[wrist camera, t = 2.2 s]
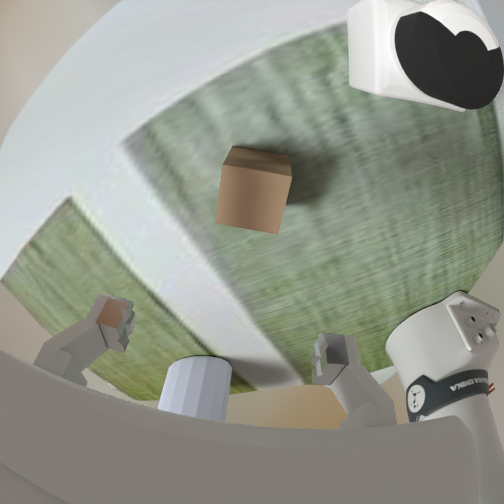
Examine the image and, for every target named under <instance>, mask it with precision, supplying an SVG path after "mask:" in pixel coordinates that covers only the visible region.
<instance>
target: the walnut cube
mask: <svg viewBox="0 0 504 504" xmlns="http://www.w3.org/2000/svg"><path fill="white" fill-rule="evenodd" d="M291 180H292V171H291V163H290V156H285V155H280V154H275V153H270V152H264V151H259V150H253V149H247V148H241V147H235V146H232V148H231V150H230V152H229V154H228V156H227V157H226V159H225V161H224V163H223V167H222V175H221V183H220V191H219V200H218V208H217V217H216V224H222V225H228V226H234V227H239V228H245V229H251V230H256V231H262V232H267V233H273V234H278V233H279V229H280V225H281V221H282V217H283V213H284V209H285V205H286V201H287V197H288V193H289V189H290V185H291Z"/></svg>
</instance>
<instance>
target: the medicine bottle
mask: <svg viewBox="0 0 504 504" xmlns="http://www.w3.org/2000/svg"><path fill="white" fill-rule="evenodd" d="M347 25H348V46H349V84H350V86H351V87H353V88H356V89H359V90H362V91H366V92H369V93H372V94H375V95H378V96H384V97H391V98H397V99H403V100H409V101H415V102H420V103H425V104H430V105H434V106H439V107H443V108H447V109H451V110H455V111H459V112H465V111H466V109H478V108H482V107H484V106H486V105H488V104H489V103H490V102H491V101H492V100H493V99H494V98H495V97H496V95H497V93H498V92H499V90H500V87H501V85H502V81H503V75H504V63H503V57H502V52H501V49H500V46H499V43H498V41H497V39H496V37H495V35H494V34H493V32H492V30H491V29H490V27H489V26H488V25H487V24H486V22H485V21H484V20H483V19H482V18H481V17H480V16H479V15H478V14H477V13H476V12H475V11H473V10H472V9H471V8H469V7H467V6H466V5H464V4H462V3H460V2H457V1H453V0H436V1H432V2H428V3H425V4H421V3H418V2H415V1H411V0H361V1H360V2H358V3H357V4H356V5H354V6H353V7H351V8H350V9H349V10H347Z"/></svg>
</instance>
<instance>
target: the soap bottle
mask: <svg viewBox="0 0 504 504" xmlns="http://www.w3.org/2000/svg"><path fill="white" fill-rule="evenodd" d="M231 374H232V367H231V365H230V364H229V362H228V361H225V360H223V359H221V358H217V357H211V356H192V357H186V358H182V359H180V360H177V361H175V362H174V363H173V364H172V365H171V366H170V367H169V369H168V373H167V376H166V380H165V383H164V387H163V390H162V394H161V398H160V401H159V405H158V409H160V410H164V411H168V412H173V413H177V414H182V415H187V416H192V417H197V418H203V419H209V420H215V421H221V422H225V416H226V409H227V402H228V395H229V388H230V381H231Z"/></svg>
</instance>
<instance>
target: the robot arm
mask: <svg viewBox="0 0 504 504" xmlns="http://www.w3.org/2000/svg"><path fill="white" fill-rule="evenodd" d="M133 307H134V305H133V301H130V300H126V299H122V298H119V297H115V296H111V295H108V294H104V293H101V294H100V295H98V297H97V299H96V301H95V302H94V304H93V306H92V308H91V310H90V311H89V313H88V315H87V317H86V319H85V320H84V319H81V320H80V321H78V322H77V323H75V324H73V325H72V326H70V327H68V328H67V329H65V330H64V331H62V332H60V333H59V334H57V335H55V336H54V337H52V338H51V339H49V340H47V341H46V342H44V344H43V346H42V348H41V350H40V352H39V354H38V356H37V358H36V360H35V362H34V364H31V363H29V362H27V361H25V360H23V359H21V358H20V357H18V356H16V355H14V354H12V353H10V352H8V351H7V350H5V349H3V348H1V347H0V504H504V450H503V447H502V445H501V442H500V440H499V436H498V432H497V429H496V425H495V422H494V418H493V415H492V411H491V408H490V405H489V402H488V398H487V396H488V394H490V393H491V392H492V391H493V390H494V389H495V388H493V389H492V390H490V391H489V389H490V388H491V387H492V386H493V383H492V384H491V385H488V372H487V371H488V369H489V367H490V364H491V362H492V360H493V358H494V356H495V354H496V352H497V349H498V346H499V342H498V338H497V335H496V329H495V326H496V324H497V323H498V321H499V319H500V315H501V314H500V312H499V310H498V309H496V308H495V307H493V306H491V305H489V304H487V303H485V302H483V301H481V300H479V299H477V298H474V297H473V296H471V295H469V294H466V293H464V292H462V291H458V292H455V293H454V294H452V295H450V296H449V297H447V298H446V299H445V300H443V301H442V302H440V303H438V304H435V305H432V306H430V307H427V308H425V309H423V310H421V311H419V312H417V313H415V314H413V315H412V316H410V317H409V318H407V319H406V320H405V321H403V322H402V323H401V324H400V325H399V326H398V327H397V328H396V329H395V330H394V331H393V332H392V333H391V335H390V336H389V338H388V340H387V343H386V352H387V354H388V355H389V357H390V358H391V360H392V362H393V364H394V366H395V368H396V370H397V372H398V375H399V377H400V380H401V382H402V385H403V388H404V391H405V393H406V403H407V413H408V417H409V423H404V424H397V421H396V415H395V409H394V404H393V400H392V399H391V398H390V397H389V395H388V394H387V393H386V392H385V391H384V390H383V388H382V387H381V386H380V385H379V384H378V382H377V381H376V380H375V379H374V378H373V377H372V375H371V374H370V373H369V372H368V371H367V370H366V368H365V367H364V366H360V361H359V356H358V351H357V346H356V341H355V337H354V336H353V335H344V334H335V333H324V332H322V333H320V334H319V336H318V341H317V342H316V343H314V345H313V347H312V350H311V364H312V365H313V366H314V368H313V370H312V371H311V373H312V384H319V385H330V388H331V389H332V391H333V392H334V394H335V395H336V397H337V398H338V400H339V402H340V403H341V405H342V406H343V408H344V410H345V411H346V413H347V414H348V417H347V418H346V419H344V420H343V421H342V422H341V423H340V424H339V429H296V428H278V427H277V428H276V427H263V426H253V425H243V424H235V423H228V422H221V421H215V420H209V419H203V418H197V417H192V416H187V415H182V414H177V413H173V412H168V411H164V410H160V409H155V408H152V407H148V406H144V405H140V404H137V403H133V402H130V401H126V400H123V399H120V398H116V397H114V396H110V395H107V394H104V393H101V392H98V391H96V390H93V389H90V388H87V387H86V385H87V380H86V379H85V377H84V376H83V374H82V373H81V371H83V370H84V369H85V368H86V367H87V366H89V365H90V364H91V363H92V362H93V361H95V360H96V359H97V358H98V357H99V356H101V355H102V354H103V353H104V352H105V351H107V350H108V349H112V350H116V351H120V352H124V353H125V351H126V348H127V346H128V343H129V338H128V336H129V335H130V334H132V333H133V330H134V328H135V323H136V315H135V312H134V311H133V310H132V309H133Z"/></svg>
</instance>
